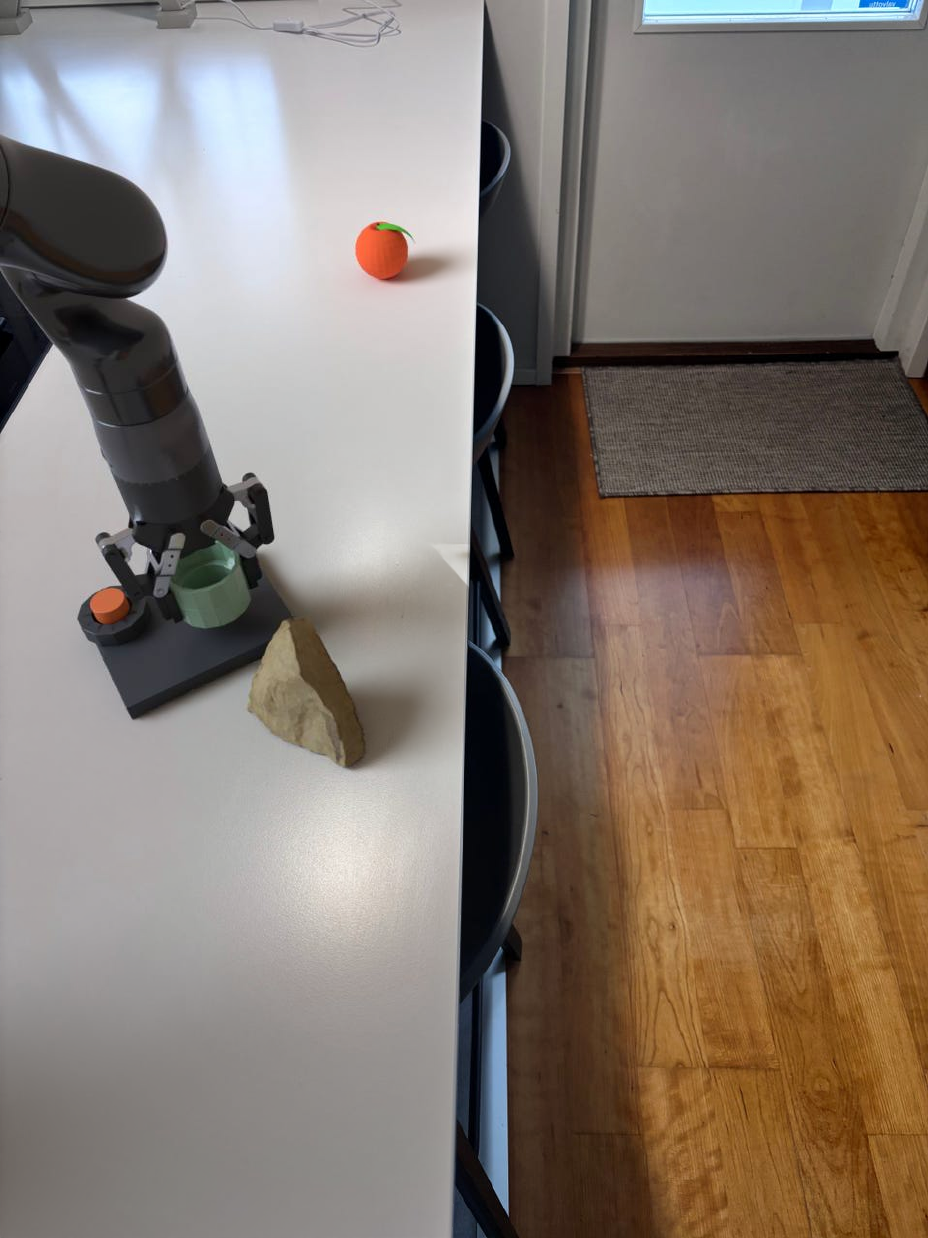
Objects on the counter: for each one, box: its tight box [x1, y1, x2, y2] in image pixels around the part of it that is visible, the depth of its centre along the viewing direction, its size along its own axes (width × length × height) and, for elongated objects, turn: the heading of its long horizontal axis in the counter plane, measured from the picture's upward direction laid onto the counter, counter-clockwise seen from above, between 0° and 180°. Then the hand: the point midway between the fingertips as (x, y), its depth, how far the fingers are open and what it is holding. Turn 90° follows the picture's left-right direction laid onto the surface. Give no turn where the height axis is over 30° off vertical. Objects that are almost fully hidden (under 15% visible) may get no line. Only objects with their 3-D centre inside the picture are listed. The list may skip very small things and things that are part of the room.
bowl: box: [169, 541, 251, 628], centre depth 82 cm, size 6×6×5 cm
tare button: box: [90, 588, 130, 624], centre depth 84 cm, size 3×3×2 cm
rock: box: [246, 617, 367, 769], centre depth 76 cm, size 11×9×10 cm
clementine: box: [354, 221, 416, 280], centre depth 124 cm, size 8×7×7 cm
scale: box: [76, 568, 295, 720], centre depth 85 cm, size 16×13×3 cm
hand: (214, 598), depth 83 cm, fingers closed on bowl, 6 cm apart
